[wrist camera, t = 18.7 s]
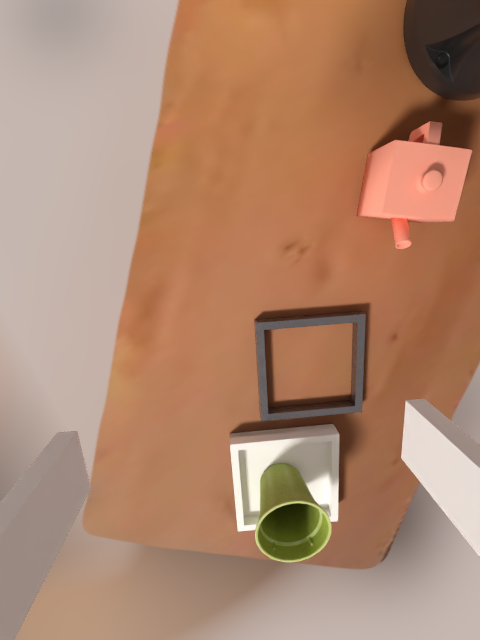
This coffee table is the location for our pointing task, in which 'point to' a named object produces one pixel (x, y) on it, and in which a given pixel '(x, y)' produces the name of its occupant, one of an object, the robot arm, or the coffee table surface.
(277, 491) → the plant pot
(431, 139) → the pink cube teapot
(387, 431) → the coffee table surface
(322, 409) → the grey square frame
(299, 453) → the tray
